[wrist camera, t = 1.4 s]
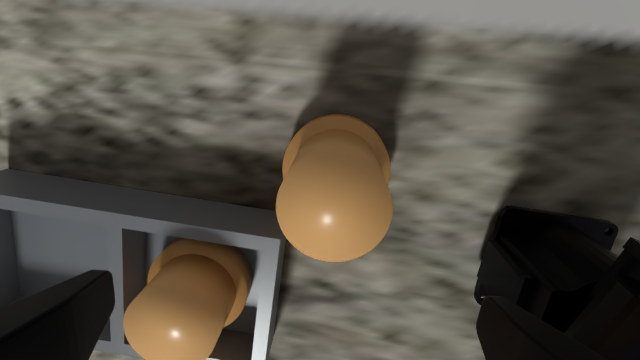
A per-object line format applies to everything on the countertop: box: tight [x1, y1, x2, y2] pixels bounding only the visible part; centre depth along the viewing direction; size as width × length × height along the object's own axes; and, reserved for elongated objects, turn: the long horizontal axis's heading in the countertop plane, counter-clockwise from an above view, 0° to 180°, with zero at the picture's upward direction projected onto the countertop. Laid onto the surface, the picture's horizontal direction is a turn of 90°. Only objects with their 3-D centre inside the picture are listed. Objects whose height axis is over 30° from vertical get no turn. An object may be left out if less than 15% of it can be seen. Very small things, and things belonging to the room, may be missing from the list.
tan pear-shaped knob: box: [276, 114, 393, 262], centre depth 18 cm, size 6×6×7 cm
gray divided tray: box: [0, 169, 286, 360], centre depth 21 cm, size 17×9×6 cm, turn 82°
